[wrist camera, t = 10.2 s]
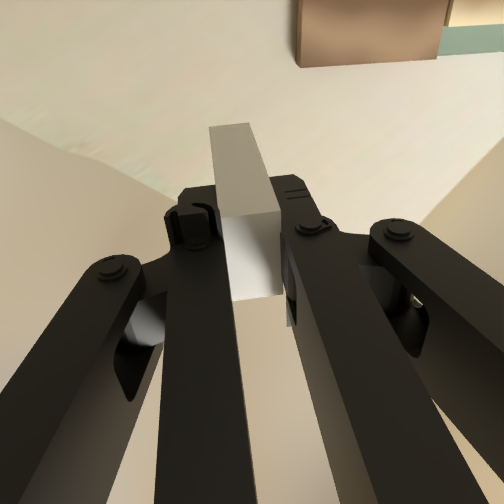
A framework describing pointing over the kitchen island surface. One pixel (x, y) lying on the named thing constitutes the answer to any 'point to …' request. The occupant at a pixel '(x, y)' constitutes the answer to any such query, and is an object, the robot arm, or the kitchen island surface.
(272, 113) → the kitchen island surface
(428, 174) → the kitchen island surface
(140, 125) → the kitchen island surface
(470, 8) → the maple tile
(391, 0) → the walnut deck
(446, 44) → the rubber mat
